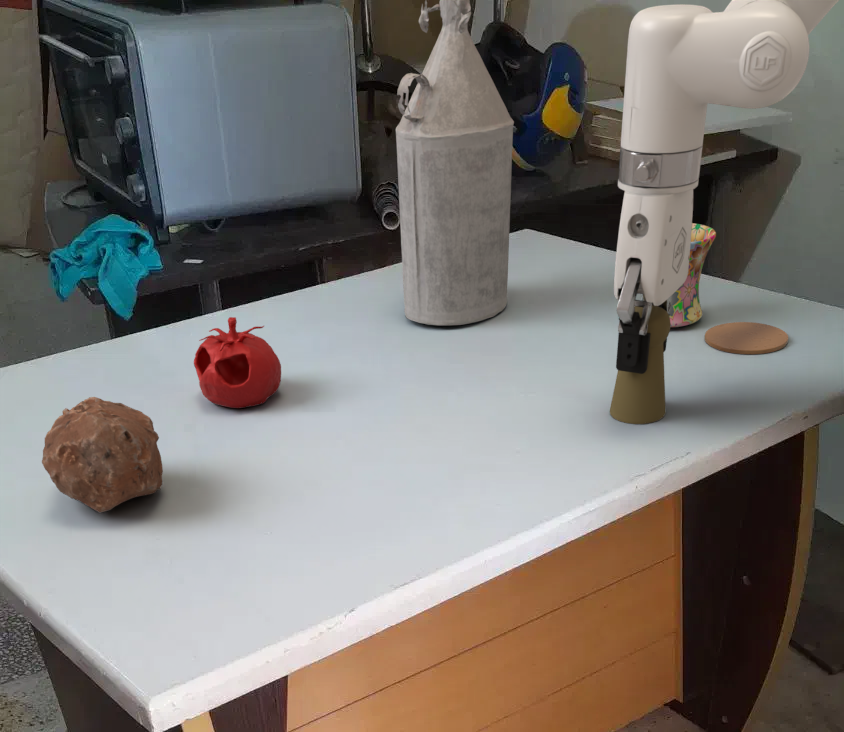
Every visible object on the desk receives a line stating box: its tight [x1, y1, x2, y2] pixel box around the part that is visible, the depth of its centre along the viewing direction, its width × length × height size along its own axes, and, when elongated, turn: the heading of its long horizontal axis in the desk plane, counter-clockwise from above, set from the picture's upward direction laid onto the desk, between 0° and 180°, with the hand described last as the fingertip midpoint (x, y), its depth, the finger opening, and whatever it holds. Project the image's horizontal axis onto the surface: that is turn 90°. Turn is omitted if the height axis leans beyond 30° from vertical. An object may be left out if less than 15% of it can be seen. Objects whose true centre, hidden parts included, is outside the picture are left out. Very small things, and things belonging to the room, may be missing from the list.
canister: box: [395, 0, 515, 327], centre depth 126 cm, size 13×17×40 cm
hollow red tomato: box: [193, 316, 282, 409], centre depth 117 cm, size 10×10×9 cm
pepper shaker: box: [609, 305, 671, 425], centre depth 107 cm, size 6×6×11 cm
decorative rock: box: [41, 396, 164, 514], centre depth 99 cm, size 13×11×10 cm
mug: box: [668, 222, 717, 328], centre depth 128 cm, size 12×9×11 cm
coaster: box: [704, 321, 789, 355], centre depth 126 cm, size 10×10×1 cm
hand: (641, 359), depth 107 cm, fingers closed on pepper shaker, 5 cm apart
